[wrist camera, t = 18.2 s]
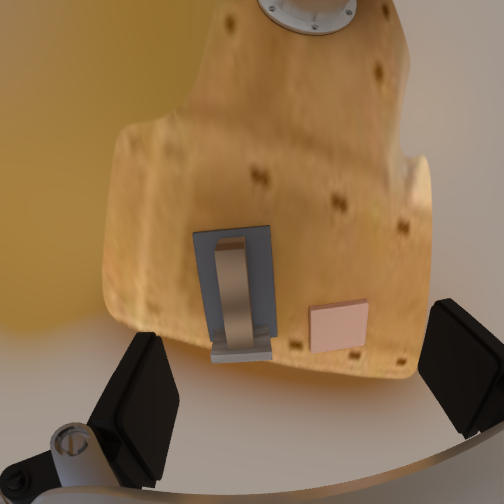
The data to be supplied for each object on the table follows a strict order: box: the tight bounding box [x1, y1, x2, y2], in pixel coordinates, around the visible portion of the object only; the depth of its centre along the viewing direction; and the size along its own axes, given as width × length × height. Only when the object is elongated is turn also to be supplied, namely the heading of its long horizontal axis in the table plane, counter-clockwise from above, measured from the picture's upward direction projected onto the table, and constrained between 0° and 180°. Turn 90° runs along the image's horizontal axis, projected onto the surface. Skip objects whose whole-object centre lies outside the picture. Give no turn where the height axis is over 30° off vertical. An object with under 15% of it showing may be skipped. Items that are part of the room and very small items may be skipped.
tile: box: [309, 299, 369, 354], centre depth 39 cm, size 2×8×7 cm
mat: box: [192, 225, 277, 342], centre depth 37 cm, size 15×9×1 cm, turn 5°
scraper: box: [211, 236, 272, 363], centre depth 34 cm, size 13×7×6 cm, turn 5°
